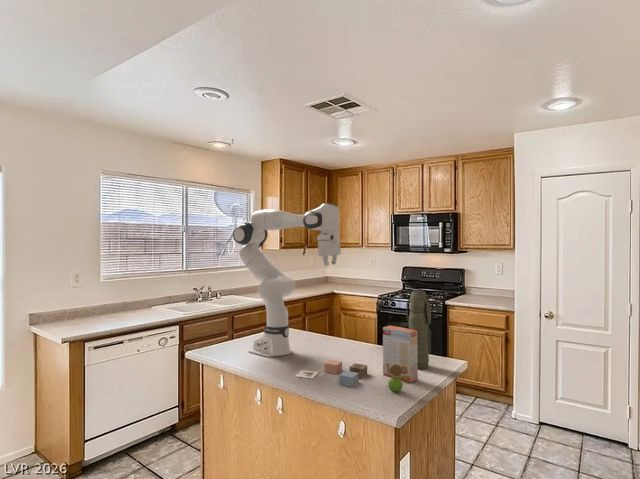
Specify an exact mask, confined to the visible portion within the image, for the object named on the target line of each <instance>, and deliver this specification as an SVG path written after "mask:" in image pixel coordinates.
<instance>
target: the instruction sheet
mask: <svg viewBox="0 0 640 479" xmlns="http://www.w3.org/2000/svg"><path fill="white" fill-rule="evenodd" d="M318 374H319V372H318V371H311V370H301V369H300V371H299V372H298V373H297V374H296V375H295V376H294V378H300V377H302V379H308V378H310V379H309V380H313V379H314V378H315V377H316V376H317V375H318Z"/></svg>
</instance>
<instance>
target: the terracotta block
mask: <svg viewBox="0 0 640 479" xmlns="http://www.w3.org/2000/svg"><path fill="white" fill-rule="evenodd" d="M323 366H324V368H323V372H325V373H329V374H336V375H338V373H340V372H341V371H343V360H342V361H341V360H336V359H329V360H327V361H326V362H325V363H324V365H323Z"/></svg>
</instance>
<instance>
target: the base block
mask: <svg viewBox="0 0 640 479" xmlns="http://www.w3.org/2000/svg"><path fill="white" fill-rule="evenodd" d="M348 371H350V372H356V373H358V379H363V378H365V377H366V376H367V375H368V364H364V363H363V364H362V363H352V365H350V366H349V368H348Z"/></svg>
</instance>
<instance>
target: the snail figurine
mask: <svg viewBox="0 0 640 479" xmlns="http://www.w3.org/2000/svg"><path fill="white" fill-rule="evenodd" d="M386 361H387V359H386ZM389 365H390V364H389V363H388V362H386V366H387V371H388V373H389V375H390V376H391V377H390V379H389V381H388V388H389V390H390V391H392V392H394V393H398V392H400V391H401V390H402V389H403V385H404V384H403V380H401V379H400V377H402V375H400V374H401V373H402V368H401V367H400V366H399V365H397V364H395V365H393V366H391V368H390V367H389Z"/></svg>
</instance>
